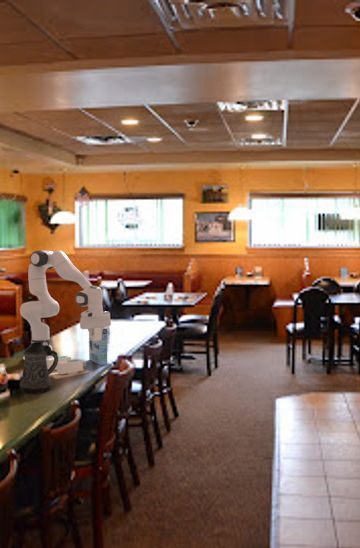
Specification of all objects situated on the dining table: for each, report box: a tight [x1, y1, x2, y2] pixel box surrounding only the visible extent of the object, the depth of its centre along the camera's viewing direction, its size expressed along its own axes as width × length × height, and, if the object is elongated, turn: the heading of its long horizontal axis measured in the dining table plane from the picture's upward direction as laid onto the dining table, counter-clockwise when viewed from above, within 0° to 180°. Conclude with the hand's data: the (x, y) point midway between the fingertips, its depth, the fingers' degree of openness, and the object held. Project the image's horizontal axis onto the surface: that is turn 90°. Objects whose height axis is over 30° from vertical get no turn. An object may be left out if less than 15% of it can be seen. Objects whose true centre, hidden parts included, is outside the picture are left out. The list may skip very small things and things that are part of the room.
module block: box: [90, 327, 102, 341], centre depth 387 cm, size 5×5×8 cm
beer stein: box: [19, 343, 59, 395], centre depth 335 cm, size 16×19×25 cm
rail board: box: [46, 355, 90, 380], centre depth 372 cm, size 20×22×8 cm
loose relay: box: [83, 360, 88, 368], centre depth 389 cm, size 4×6×3 cm, turn 146°
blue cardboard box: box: [88, 327, 108, 366], centre depth 401 cm, size 20×5×23 cm, turn 29°
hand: (95, 334), depth 387 cm, fingers closed on module block, 5 cm apart
